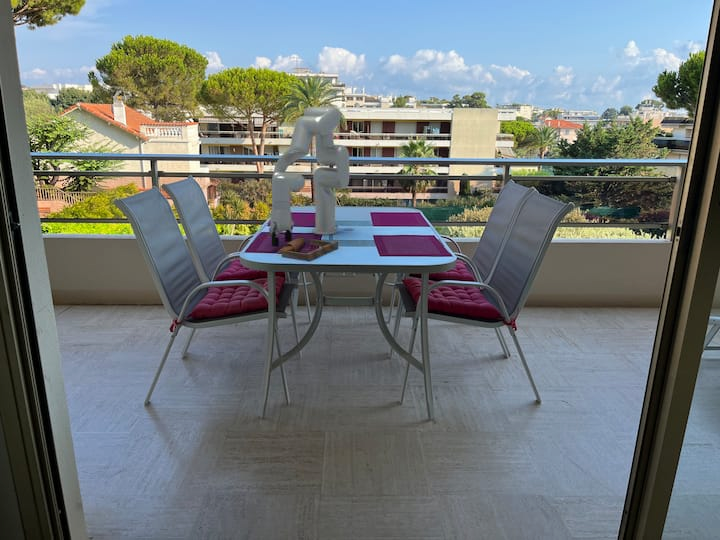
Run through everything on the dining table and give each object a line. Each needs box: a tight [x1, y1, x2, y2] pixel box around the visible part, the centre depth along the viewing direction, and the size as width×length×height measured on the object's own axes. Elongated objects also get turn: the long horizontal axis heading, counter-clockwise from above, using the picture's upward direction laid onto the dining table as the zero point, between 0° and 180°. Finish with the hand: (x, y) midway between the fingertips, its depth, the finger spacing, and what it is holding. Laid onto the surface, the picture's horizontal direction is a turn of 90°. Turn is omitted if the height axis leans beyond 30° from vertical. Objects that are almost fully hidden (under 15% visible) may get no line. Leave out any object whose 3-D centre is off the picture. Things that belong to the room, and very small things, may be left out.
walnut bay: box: [281, 238, 339, 262], centre depth 224 cm, size 24×13×3 cm, turn 154°
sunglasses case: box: [276, 237, 307, 255], centre depth 228 cm, size 18×7×7 cm
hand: (281, 243), depth 229 cm, fingers open, 9 cm apart
